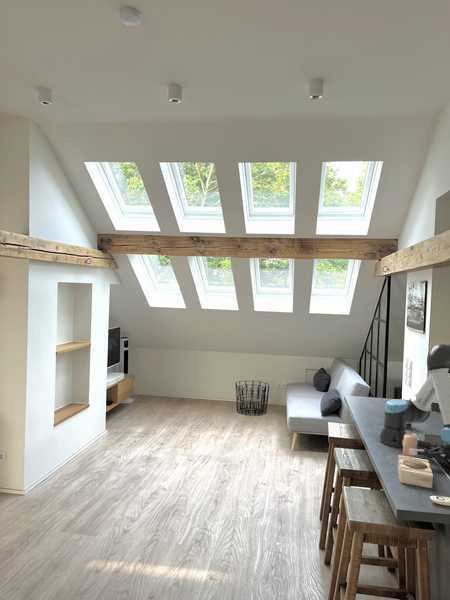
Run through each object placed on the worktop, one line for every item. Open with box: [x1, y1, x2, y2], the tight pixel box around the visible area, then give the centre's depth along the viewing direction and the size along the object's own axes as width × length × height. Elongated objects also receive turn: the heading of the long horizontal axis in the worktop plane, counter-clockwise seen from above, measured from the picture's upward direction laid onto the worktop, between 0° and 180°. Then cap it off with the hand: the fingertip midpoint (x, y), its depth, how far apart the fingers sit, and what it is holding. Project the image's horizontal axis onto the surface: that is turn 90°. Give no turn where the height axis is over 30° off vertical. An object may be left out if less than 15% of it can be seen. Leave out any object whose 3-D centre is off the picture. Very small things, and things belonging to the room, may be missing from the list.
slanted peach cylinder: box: [401, 433, 419, 458], centre depth 231 cm, size 6×6×12 cm
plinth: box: [397, 454, 434, 489], centre depth 210 cm, size 20×13×6 cm, turn 162°
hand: (406, 446), depth 231 cm, fingers open, 13 cm apart
